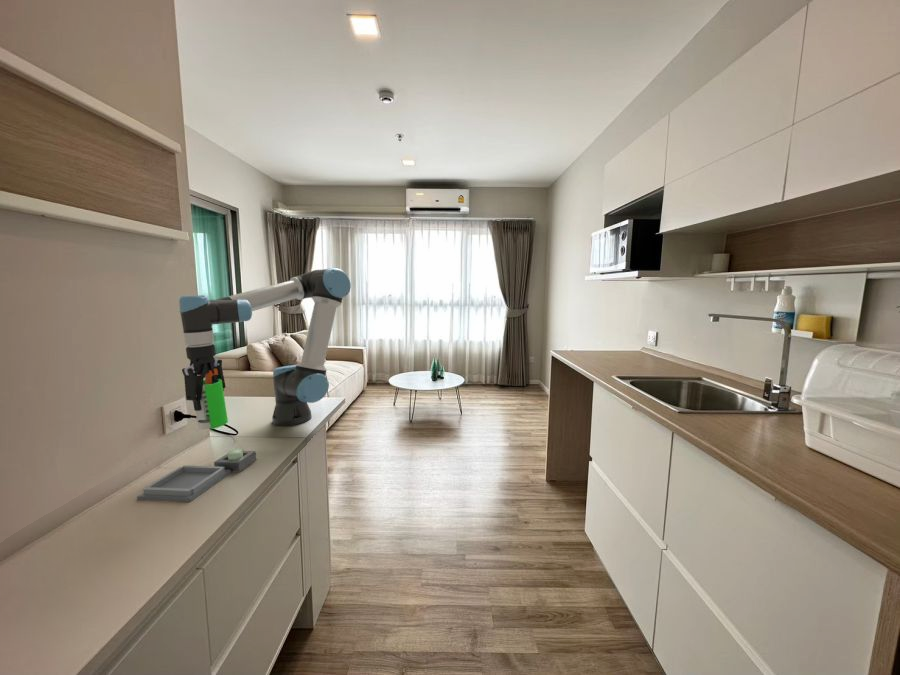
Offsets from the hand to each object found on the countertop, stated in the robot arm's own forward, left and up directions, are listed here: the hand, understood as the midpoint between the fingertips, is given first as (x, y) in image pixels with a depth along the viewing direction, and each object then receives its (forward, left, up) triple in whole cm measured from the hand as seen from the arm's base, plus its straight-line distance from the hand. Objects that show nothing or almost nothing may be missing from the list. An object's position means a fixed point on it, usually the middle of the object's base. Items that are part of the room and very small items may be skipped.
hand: (210, 415), depth 116 cm
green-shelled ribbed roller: (-1, 0, -3) cm, 3 cm away
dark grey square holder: (+4, +11, -14) cm, 19 cm away
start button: (+4, +11, -14) cm, 18 cm away
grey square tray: (+16, +5, -14) cm, 22 cm away
